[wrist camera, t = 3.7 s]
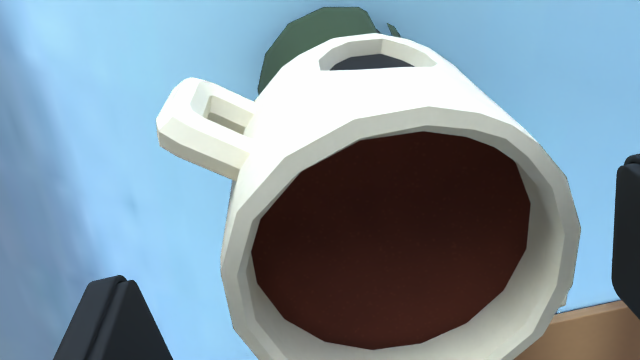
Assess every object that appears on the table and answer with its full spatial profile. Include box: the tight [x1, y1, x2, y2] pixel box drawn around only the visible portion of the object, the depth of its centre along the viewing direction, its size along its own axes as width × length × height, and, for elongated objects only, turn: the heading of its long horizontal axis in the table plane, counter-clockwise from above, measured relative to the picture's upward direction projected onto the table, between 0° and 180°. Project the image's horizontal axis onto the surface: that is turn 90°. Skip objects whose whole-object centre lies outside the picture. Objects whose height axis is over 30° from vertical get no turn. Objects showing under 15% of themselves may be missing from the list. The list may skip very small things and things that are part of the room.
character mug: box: [156, 7, 581, 360], centre depth 16 cm, size 11×7×13 cm, turn 62°
